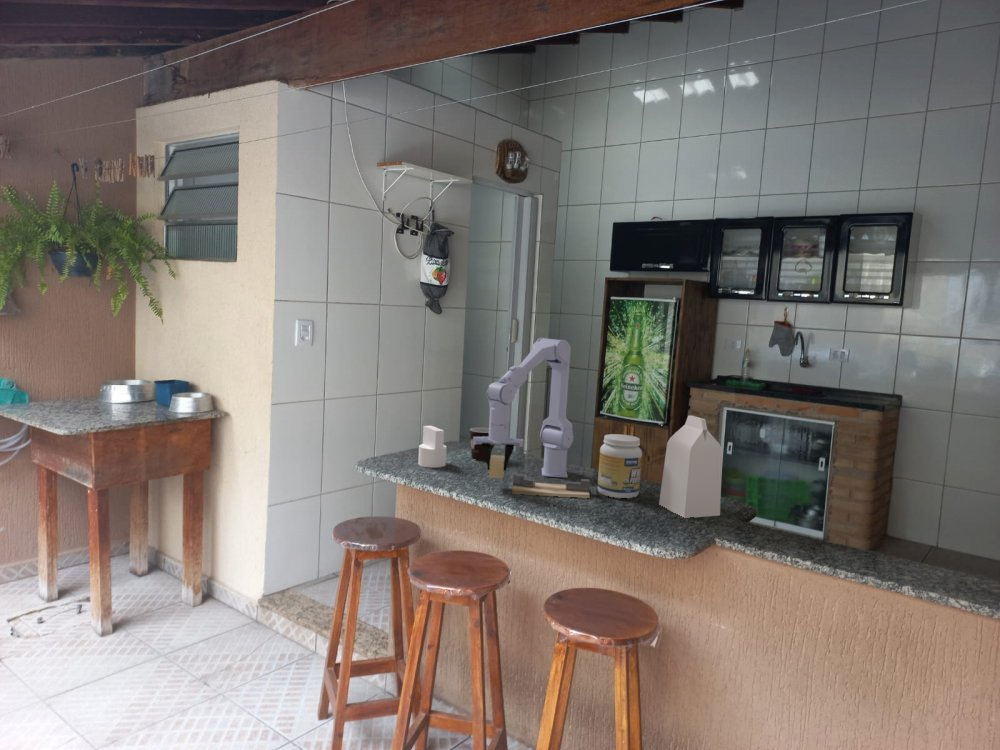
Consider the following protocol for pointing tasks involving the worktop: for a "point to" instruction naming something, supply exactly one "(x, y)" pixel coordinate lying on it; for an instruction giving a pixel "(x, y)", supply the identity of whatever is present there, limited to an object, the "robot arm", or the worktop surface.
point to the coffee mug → (477, 448)
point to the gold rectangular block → (496, 466)
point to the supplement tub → (620, 466)
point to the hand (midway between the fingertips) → (496, 469)
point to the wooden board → (549, 490)
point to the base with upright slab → (432, 448)
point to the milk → (692, 471)
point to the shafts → (577, 486)
